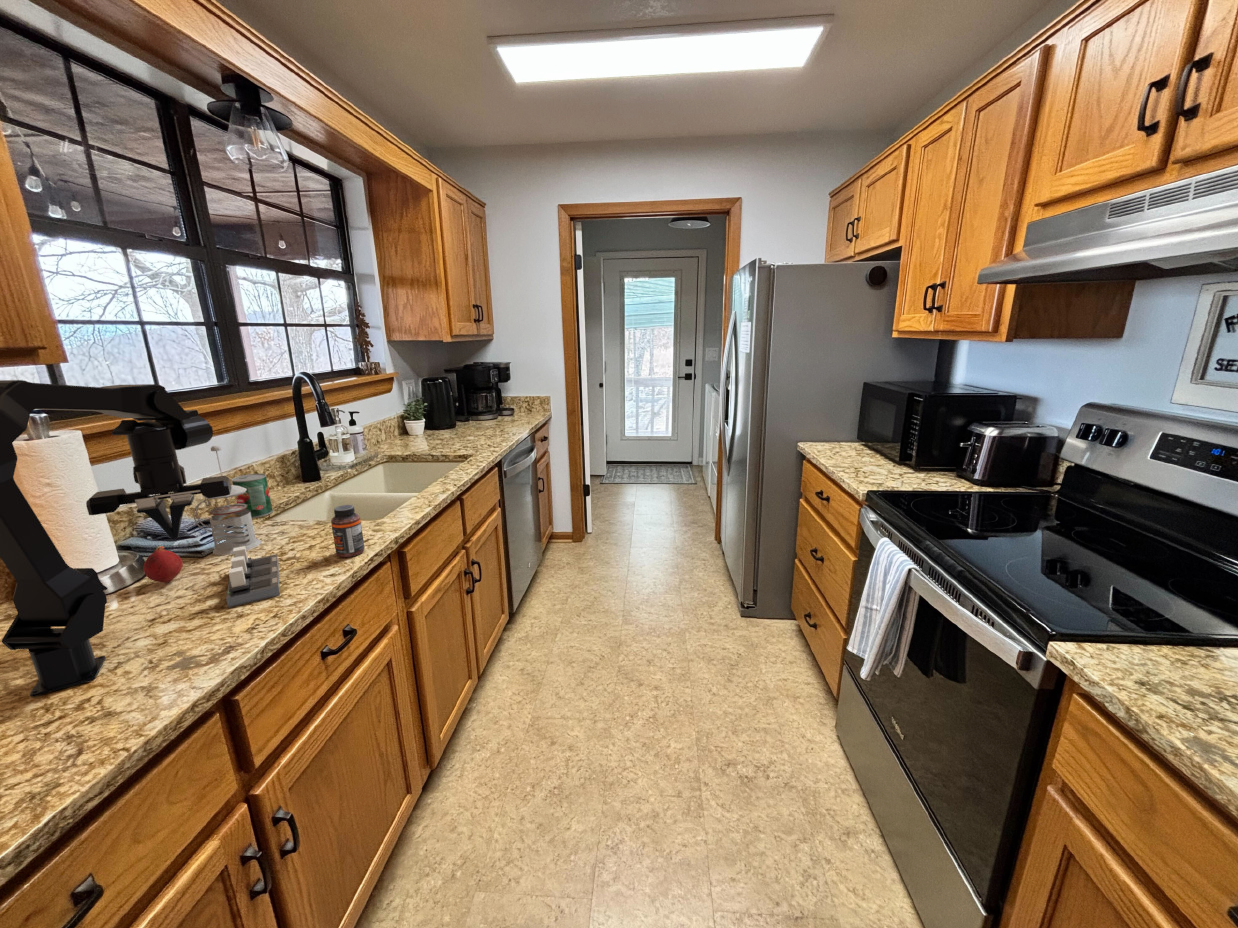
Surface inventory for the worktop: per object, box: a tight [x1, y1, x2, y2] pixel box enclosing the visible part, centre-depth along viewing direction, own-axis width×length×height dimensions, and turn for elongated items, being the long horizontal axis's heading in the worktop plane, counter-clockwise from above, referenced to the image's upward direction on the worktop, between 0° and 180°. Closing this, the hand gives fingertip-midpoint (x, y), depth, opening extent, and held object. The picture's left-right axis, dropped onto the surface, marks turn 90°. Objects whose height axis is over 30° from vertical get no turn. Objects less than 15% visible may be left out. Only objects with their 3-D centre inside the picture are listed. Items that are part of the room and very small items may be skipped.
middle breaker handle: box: [230, 556, 251, 577], centre depth 99 cm, size 3×3×4 cm
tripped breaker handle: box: [228, 567, 249, 592], centre depth 94 cm, size 3×3×4 cm
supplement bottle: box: [330, 504, 365, 559], centre depth 114 cm, size 6×6×11 cm
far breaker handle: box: [232, 546, 252, 566], centre depth 104 cm, size 3×3×4 cm
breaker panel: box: [226, 553, 281, 609], centre depth 101 cm, size 18×8×2 cm, turn 35°
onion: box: [143, 545, 184, 584], centre depth 101 cm, size 6×6×8 cm
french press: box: [192, 445, 263, 556], centre depth 116 cm, size 10×12×25 cm
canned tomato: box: [231, 473, 274, 519], centre depth 141 cm, size 8×8×11 cm
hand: (175, 538), depth 91 cm, fingers closed
